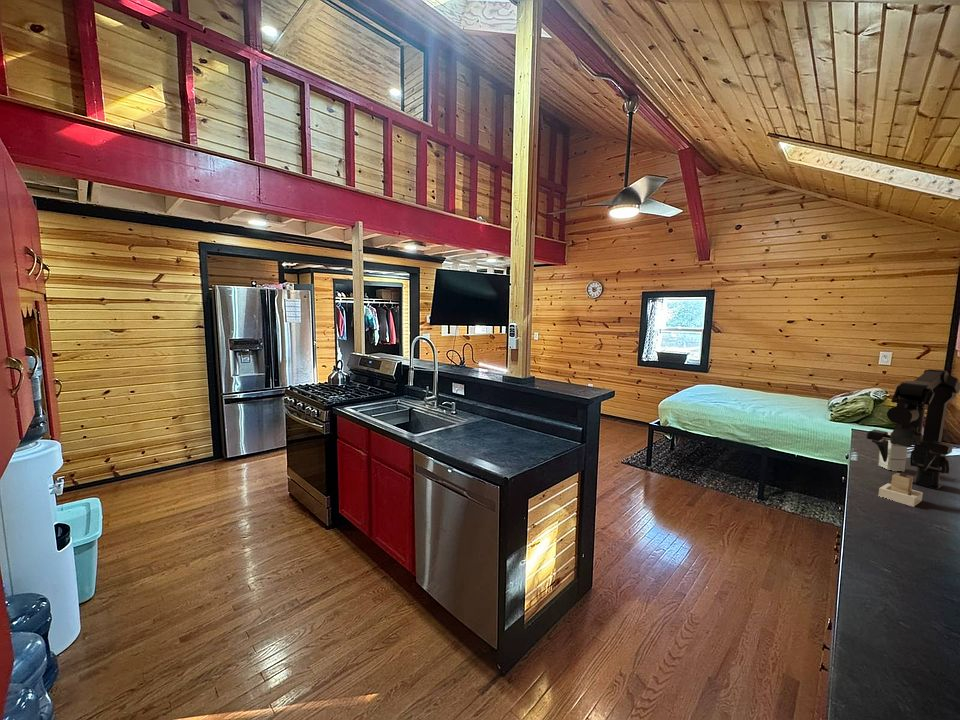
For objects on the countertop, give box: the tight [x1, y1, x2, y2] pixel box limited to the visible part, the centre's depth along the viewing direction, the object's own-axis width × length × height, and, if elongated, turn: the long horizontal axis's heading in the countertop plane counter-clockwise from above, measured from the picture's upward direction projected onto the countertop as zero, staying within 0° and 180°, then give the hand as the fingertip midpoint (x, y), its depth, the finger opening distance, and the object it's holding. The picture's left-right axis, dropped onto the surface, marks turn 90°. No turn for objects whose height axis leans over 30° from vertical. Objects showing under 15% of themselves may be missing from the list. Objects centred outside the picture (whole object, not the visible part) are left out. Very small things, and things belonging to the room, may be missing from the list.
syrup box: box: [877, 431, 908, 473], centre depth 159 cm, size 6×6×14 cm
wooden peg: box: [890, 472, 914, 496], centre depth 133 cm, size 4×4×9 cm
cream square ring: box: [877, 482, 924, 508], centre depth 133 cm, size 8×8×3 cm
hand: (904, 466), depth 132 cm, fingers open, 9 cm apart
